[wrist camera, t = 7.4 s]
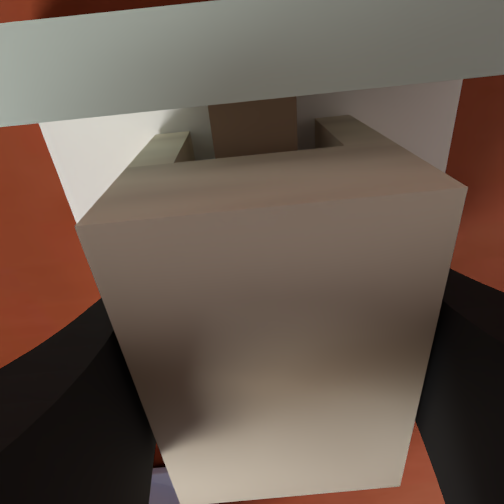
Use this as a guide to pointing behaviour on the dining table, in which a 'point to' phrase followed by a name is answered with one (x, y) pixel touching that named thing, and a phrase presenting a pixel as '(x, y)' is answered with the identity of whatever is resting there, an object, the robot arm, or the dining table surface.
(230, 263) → the saddle block
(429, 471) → the dining table surface
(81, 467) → the robot arm
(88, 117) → the board
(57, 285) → the dining table surface
